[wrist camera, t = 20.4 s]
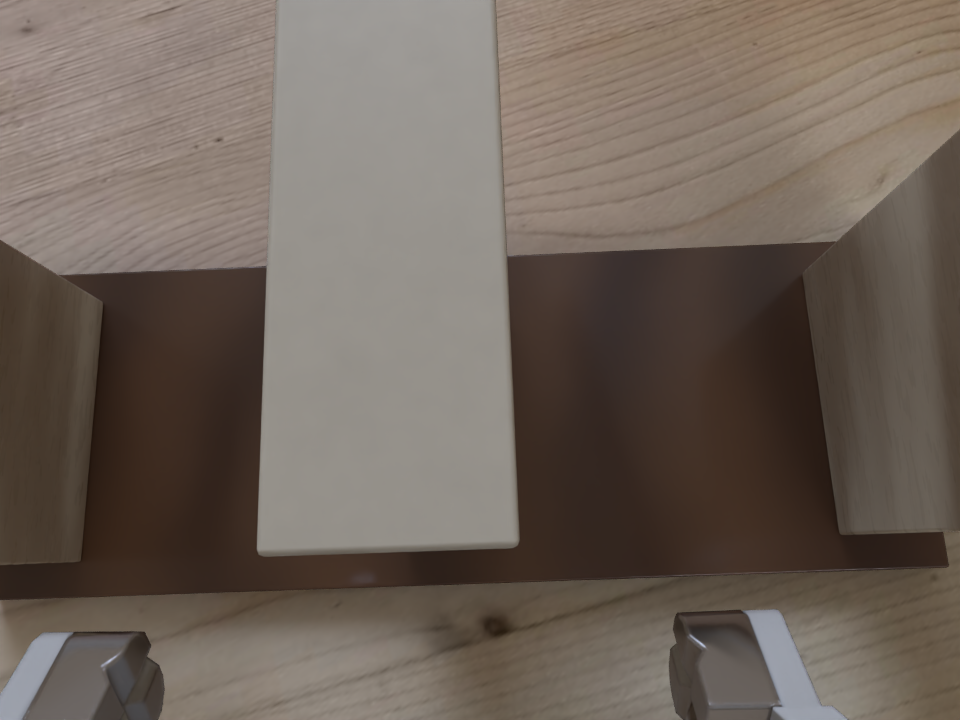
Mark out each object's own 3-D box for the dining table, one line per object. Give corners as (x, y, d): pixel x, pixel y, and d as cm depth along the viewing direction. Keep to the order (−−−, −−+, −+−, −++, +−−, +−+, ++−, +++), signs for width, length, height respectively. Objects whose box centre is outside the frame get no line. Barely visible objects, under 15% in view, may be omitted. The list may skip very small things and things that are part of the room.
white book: (499, 285, 24) (493, -55, 10) (509, 546, 22) (519, 548, 9) (404, 289, 24) (275, -43, 11) (406, 550, 22) (253, 556, 9)
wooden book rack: (877, 250, 25) (1324, -103, 11) (930, 566, 23) (1576, 597, 9) (33, 286, 26) (-502, -8, 12) (-2, 598, 23) (-715, 673, 10)
